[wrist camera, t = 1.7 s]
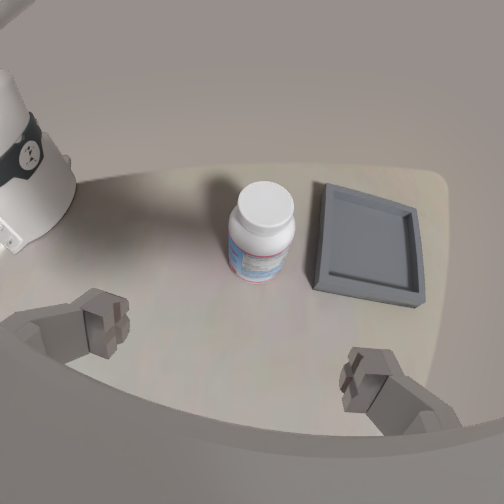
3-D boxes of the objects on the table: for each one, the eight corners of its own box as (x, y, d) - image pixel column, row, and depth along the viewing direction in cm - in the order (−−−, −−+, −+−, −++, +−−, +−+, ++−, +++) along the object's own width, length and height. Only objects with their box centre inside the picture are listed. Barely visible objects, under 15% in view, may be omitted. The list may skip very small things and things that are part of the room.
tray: (312, 289, 31) (318, 281, 29) (321, 194, 38) (326, 183, 35) (414, 308, 31) (425, 302, 29) (408, 218, 37) (416, 208, 35)
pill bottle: (232, 235, 34) (233, 170, 24) (282, 241, 34) (302, 178, 24) (225, 282, 31) (222, 229, 21) (280, 289, 31) (303, 238, 21)
